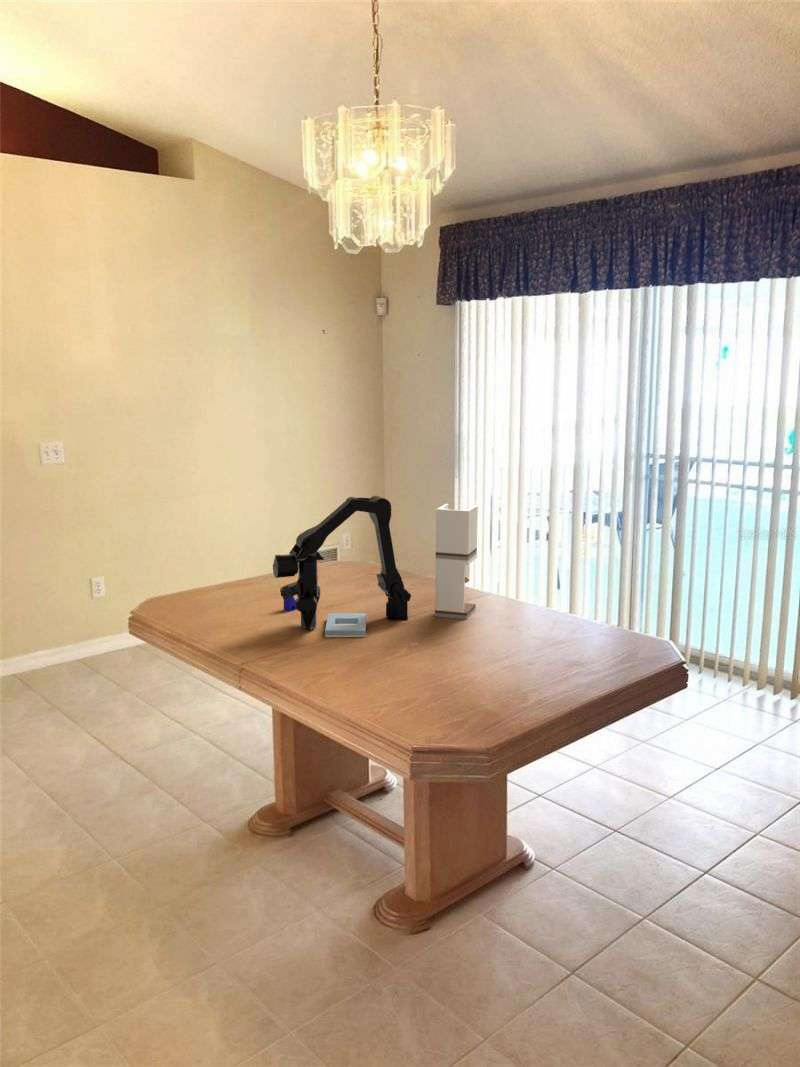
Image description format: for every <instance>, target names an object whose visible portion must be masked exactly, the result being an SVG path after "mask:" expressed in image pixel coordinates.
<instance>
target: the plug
mask: <svg viewBox="0 0 800 1067" xmlns="http://www.w3.org/2000/svg"><path fill="white" fill-rule="evenodd" d="M300 627H301V629H303V628H304V629H307V628H306V626H305V623H304V619H303V615H302V613H301V612H300ZM316 627H317V611H316V612H315V615H314V618H313V620H312V623H311V626H310V628H309V629H310V630H313V629H314V628H315V629H316Z"/></svg>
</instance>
